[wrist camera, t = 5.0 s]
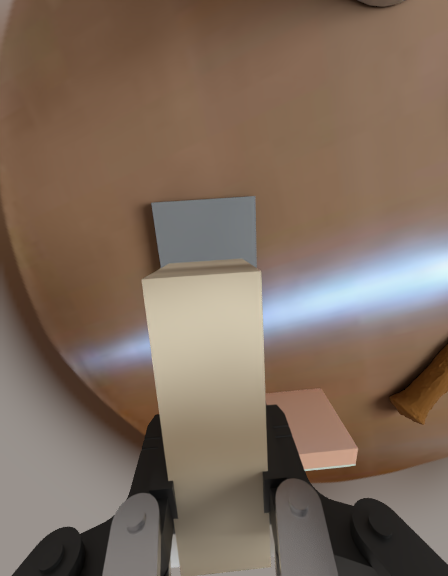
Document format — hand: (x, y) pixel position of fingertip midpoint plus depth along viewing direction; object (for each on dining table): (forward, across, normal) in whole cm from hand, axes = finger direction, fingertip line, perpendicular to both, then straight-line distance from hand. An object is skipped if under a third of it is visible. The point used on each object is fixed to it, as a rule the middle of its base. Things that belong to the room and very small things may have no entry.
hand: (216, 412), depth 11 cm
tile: (+12, -7, +12) cm, 19 cm away
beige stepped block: (0, 0, +1) cm, 1 cm away
